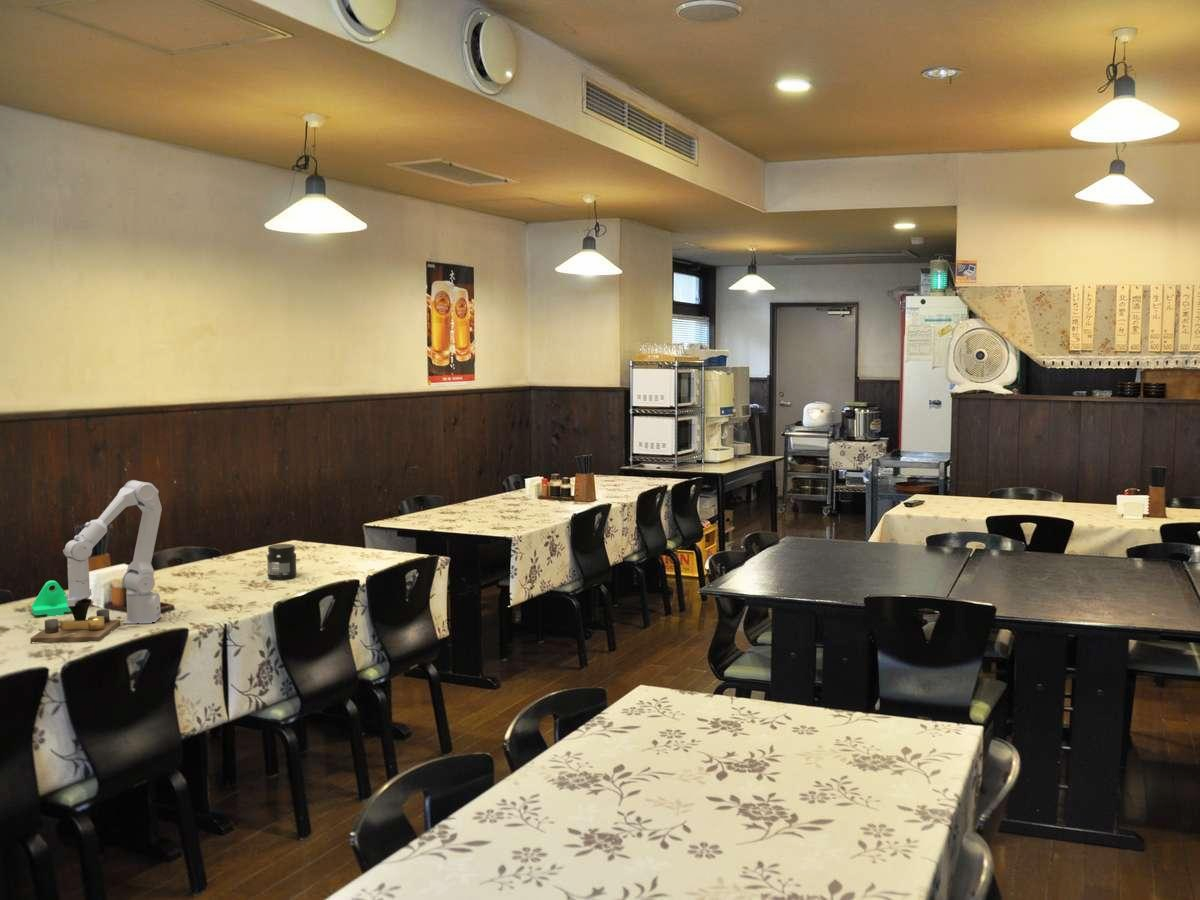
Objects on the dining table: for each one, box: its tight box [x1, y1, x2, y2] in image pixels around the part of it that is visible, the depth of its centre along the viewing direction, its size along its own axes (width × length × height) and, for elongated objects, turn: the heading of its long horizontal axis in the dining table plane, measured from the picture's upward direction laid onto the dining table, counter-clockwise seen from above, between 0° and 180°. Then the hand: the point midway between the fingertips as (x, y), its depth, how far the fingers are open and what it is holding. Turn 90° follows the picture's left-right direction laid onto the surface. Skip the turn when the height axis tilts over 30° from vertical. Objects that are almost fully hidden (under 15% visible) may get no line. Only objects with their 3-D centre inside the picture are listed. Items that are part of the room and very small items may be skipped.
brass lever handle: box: [60, 615, 105, 630], centre depth 323 cm, size 12×4×3 cm, turn 97°
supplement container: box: [266, 543, 298, 581], centre depth 403 cm, size 10×10×12 cm
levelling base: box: [30, 608, 121, 643], centre depth 324 cm, size 19×19×5 cm
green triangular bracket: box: [31, 579, 72, 617], centre depth 348 cm, size 12×8×10 cm, turn 124°
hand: (80, 624), depth 326 cm, fingers closed
